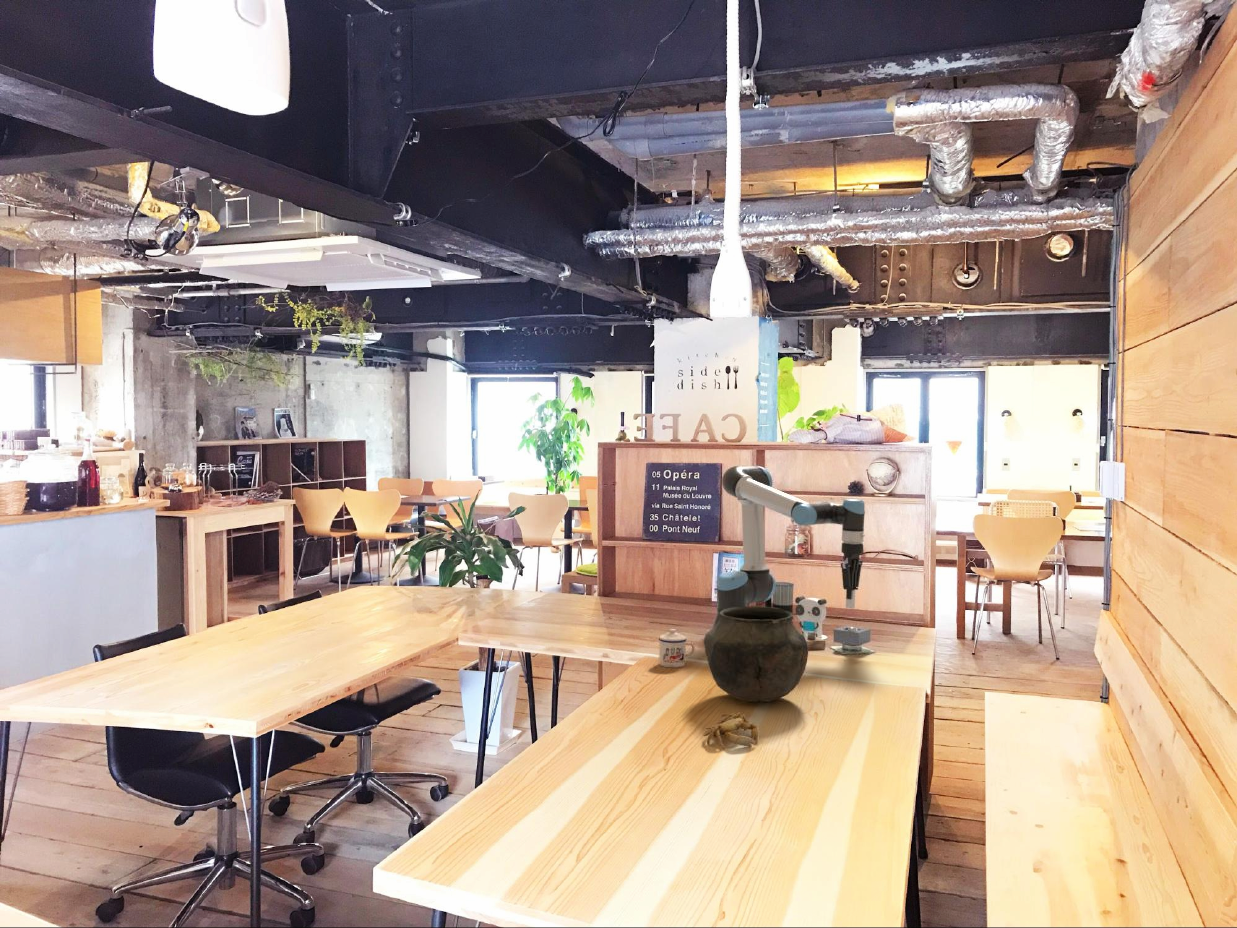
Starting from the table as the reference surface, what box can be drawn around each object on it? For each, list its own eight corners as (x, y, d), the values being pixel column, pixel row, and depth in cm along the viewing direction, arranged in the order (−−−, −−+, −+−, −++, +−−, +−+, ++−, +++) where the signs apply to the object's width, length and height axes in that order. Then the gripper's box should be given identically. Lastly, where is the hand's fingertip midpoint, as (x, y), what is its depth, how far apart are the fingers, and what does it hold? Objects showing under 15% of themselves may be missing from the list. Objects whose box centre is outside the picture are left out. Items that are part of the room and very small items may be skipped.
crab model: (745, 755, 209) (745, 732, 209) (696, 745, 216) (696, 723, 216) (770, 737, 223) (770, 715, 222) (723, 728, 229) (723, 707, 229)
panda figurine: (789, 636, 342) (789, 597, 341) (805, 632, 350) (805, 594, 350) (817, 641, 334) (817, 601, 333) (832, 637, 342) (833, 598, 342)
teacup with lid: (660, 668, 291) (661, 632, 291) (656, 661, 300) (656, 626, 300) (697, 667, 292) (697, 631, 292) (691, 660, 301) (692, 626, 301)
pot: (742, 721, 235) (743, 626, 234) (686, 691, 264) (687, 606, 263) (833, 709, 246) (835, 618, 246) (770, 681, 275) (771, 600, 275)
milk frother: (797, 617, 381) (797, 582, 381) (782, 623, 368) (782, 587, 368) (766, 614, 389) (766, 580, 389) (750, 619, 376) (751, 584, 375)
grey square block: (858, 645, 313) (858, 632, 313) (833, 641, 319) (833, 629, 319) (870, 641, 321) (870, 628, 321) (845, 637, 327) (845, 625, 327)
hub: (844, 654, 313) (844, 631, 313) (829, 647, 324) (829, 625, 324) (875, 652, 316) (875, 629, 316) (858, 645, 327) (859, 624, 327)
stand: (807, 649, 320) (807, 634, 320) (798, 645, 327) (798, 630, 327) (824, 648, 322) (825, 633, 322) (815, 644, 329) (815, 629, 328)
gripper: (854, 544, 314) (851, 611, 315) (870, 542, 324) (867, 606, 325) (834, 542, 319) (832, 608, 320) (851, 540, 329) (848, 603, 330)
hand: (850, 607), depth 323 cm, fingers closed
